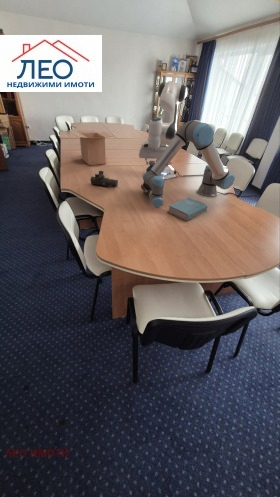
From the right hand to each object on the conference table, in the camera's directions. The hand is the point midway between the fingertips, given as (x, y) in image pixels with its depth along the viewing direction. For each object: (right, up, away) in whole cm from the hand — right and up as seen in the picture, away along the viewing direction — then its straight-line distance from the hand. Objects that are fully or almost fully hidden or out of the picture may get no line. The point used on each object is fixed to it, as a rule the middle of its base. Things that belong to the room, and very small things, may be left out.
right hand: (149, 182), depth 176 cm
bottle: (0, -8, 0) cm, 8 cm away
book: (+25, -27, -23) cm, 44 cm away
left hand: (+1, +10, -13) cm, 16 cm away
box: (-57, +41, +61) cm, 93 cm away
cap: (+2, +11, -14) cm, 18 cm away
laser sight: (-37, 0, +7) cm, 38 cm away
